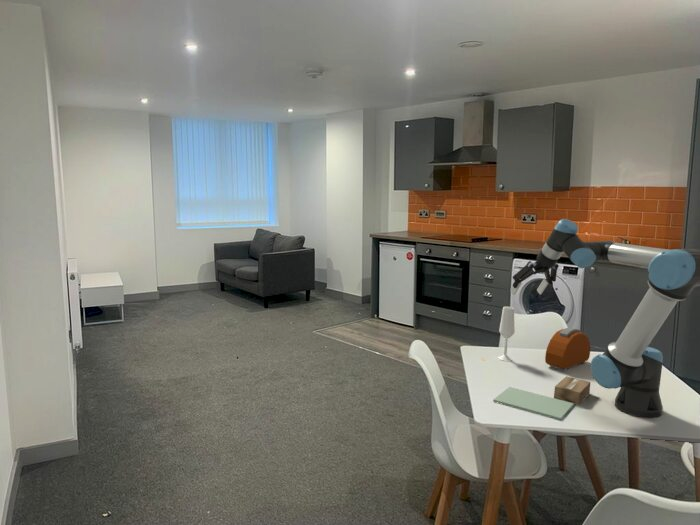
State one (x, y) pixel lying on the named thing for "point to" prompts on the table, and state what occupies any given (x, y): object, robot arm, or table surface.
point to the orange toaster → (567, 349)
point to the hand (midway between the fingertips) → (525, 292)
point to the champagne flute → (507, 328)
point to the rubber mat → (534, 403)
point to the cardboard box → (572, 390)
